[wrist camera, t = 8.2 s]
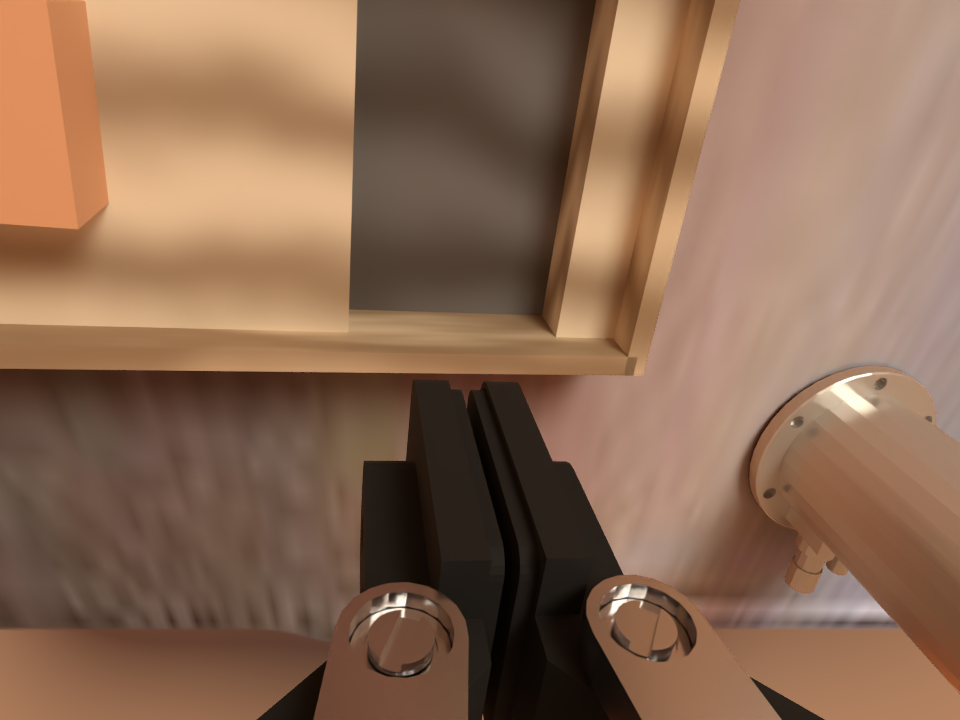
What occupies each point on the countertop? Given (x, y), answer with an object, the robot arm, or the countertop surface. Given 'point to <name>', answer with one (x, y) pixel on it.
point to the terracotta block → (48, 116)
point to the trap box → (375, 187)
